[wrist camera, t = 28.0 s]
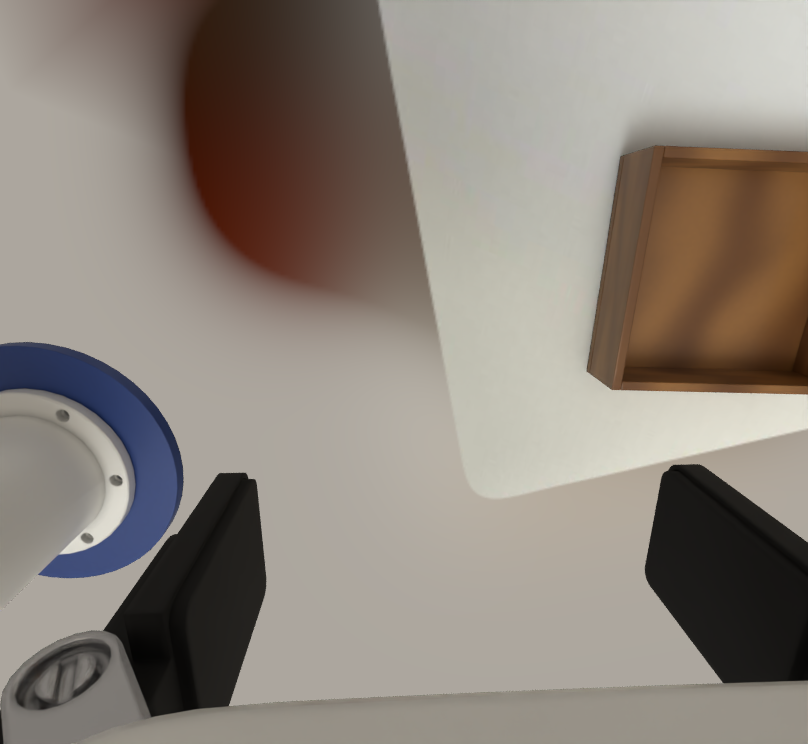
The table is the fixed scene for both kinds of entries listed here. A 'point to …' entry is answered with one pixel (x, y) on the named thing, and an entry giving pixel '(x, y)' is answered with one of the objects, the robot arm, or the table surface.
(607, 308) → the tray
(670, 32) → the table surface
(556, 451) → the table surface
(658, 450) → the table surface
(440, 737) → the robot arm
